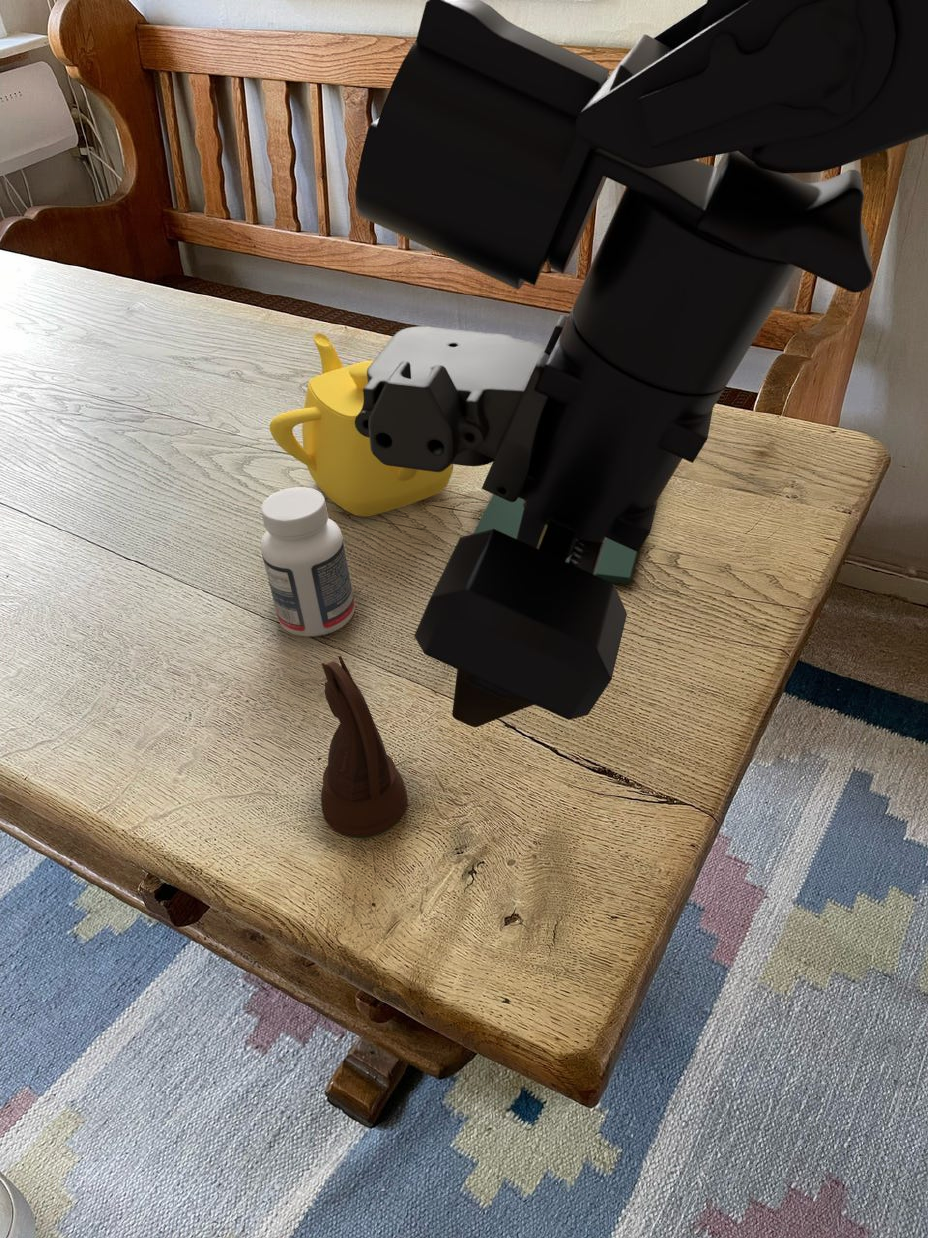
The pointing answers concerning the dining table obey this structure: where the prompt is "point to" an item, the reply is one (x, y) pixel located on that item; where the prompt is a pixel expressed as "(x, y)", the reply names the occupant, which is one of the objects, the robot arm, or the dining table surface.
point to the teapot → (348, 443)
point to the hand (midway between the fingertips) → (492, 647)
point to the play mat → (611, 567)
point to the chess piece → (358, 765)
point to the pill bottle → (305, 563)
